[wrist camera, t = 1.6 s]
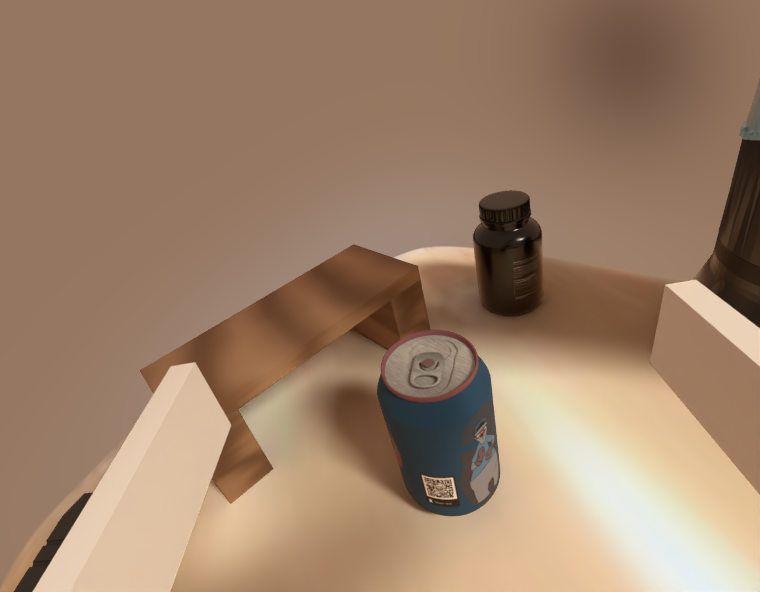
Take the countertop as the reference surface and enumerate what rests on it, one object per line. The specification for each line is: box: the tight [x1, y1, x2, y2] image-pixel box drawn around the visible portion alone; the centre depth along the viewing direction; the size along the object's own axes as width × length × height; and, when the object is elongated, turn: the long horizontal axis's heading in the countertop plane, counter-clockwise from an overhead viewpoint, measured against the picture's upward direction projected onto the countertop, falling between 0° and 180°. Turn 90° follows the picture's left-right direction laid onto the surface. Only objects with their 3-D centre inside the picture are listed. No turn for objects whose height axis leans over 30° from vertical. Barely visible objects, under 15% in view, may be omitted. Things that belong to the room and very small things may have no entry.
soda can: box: [377, 330, 500, 516], centre depth 28 cm, size 7×7×12 cm
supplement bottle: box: [473, 190, 543, 315], centre depth 44 cm, size 7×7×12 cm
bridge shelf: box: [140, 245, 430, 503], centre depth 40 cm, size 24×10×9 cm, turn 132°
